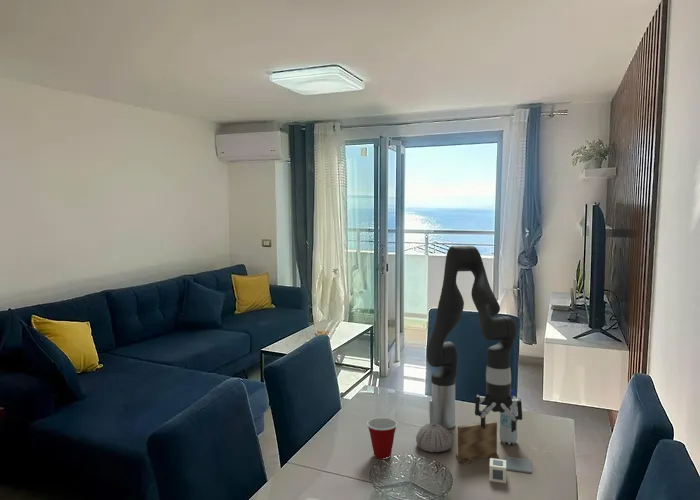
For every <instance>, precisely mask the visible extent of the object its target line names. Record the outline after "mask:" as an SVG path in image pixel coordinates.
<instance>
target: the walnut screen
mask: <svg viewBox="0 0 700 500" xmlns="http://www.w3.org/2000/svg"><path fill="white" fill-rule="evenodd" d="M455 455H456V456H455V457H456V458H457V460H458V462H459V463H461V464H462V465H467V464H471V463H470V462H471V461H472V460H478V459H479V460H480V459H486V458H489V459H490V458H494V459H499V457H500V456H499V454H498V422H497V421H496V420H489V421H485V429H483V427H481V422H476V423H475V422H474V423H469V424H463V425H457V453H456V454H455Z"/></svg>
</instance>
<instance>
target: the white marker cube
mask: <svg viewBox="0 0 700 500" xmlns="http://www.w3.org/2000/svg"><path fill="white" fill-rule="evenodd" d="M489 482H496V483H502V484H507V470H506V459H499V458H498V459H494V458H490V457H489Z"/></svg>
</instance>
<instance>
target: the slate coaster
mask: <svg viewBox="0 0 700 500" xmlns="http://www.w3.org/2000/svg"><path fill="white" fill-rule="evenodd" d="M505 460H506V471H512V472H518V473H520V472H521V473H527V474H533V473H532V472H533V470H532V461H531V460H532V459H530V458H521V457H515V456H513V457H512V456H507V455H505Z"/></svg>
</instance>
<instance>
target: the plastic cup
mask: <svg viewBox="0 0 700 500" xmlns="http://www.w3.org/2000/svg"><path fill="white" fill-rule="evenodd" d="M397 426H398V422H397V421H396V420H394V419H392V418H386V417H375V418H371V419H370V420H369V419H368V421H367V422H366V427H368V431H369V435H370V440H371V447H372V451H373V455H374V458H376V459H378V460H384V459H383V458H386V457H389V456H390V457H391V456H392V451H393V444H394V438H395V433H396V430H397ZM390 457H389V458H390Z"/></svg>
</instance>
